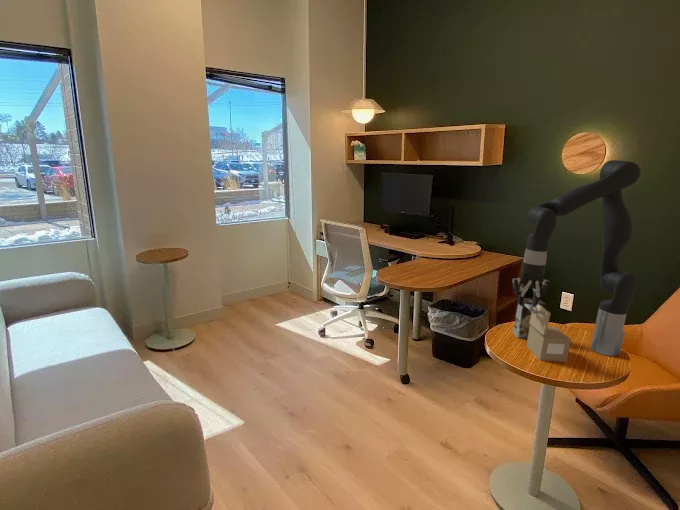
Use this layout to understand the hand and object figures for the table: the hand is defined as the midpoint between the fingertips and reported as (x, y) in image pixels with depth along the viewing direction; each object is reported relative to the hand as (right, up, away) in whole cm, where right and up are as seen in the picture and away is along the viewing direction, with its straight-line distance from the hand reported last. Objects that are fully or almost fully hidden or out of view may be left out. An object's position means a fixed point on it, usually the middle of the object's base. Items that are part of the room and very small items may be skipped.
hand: (527, 305), depth 157 cm
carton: (+9, -19, +4) cm, 22 cm away
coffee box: (+8, -16, +20) cm, 27 cm away
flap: (+6, -5, +1) cm, 8 cm away
